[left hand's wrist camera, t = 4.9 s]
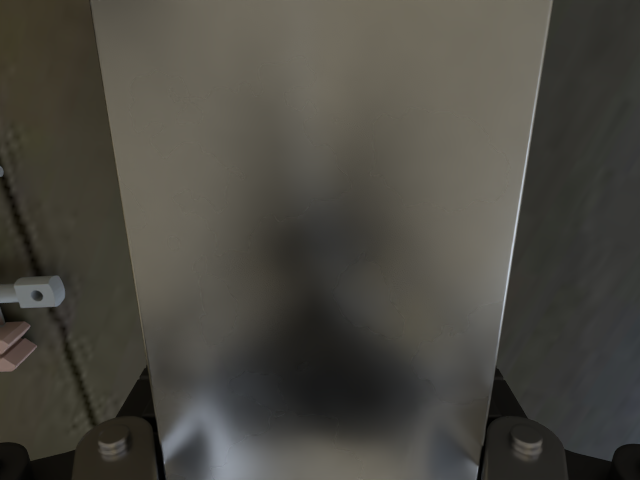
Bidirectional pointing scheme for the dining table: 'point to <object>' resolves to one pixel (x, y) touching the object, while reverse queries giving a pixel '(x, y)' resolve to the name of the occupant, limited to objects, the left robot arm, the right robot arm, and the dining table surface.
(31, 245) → the dining table surface
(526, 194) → the dining table surface
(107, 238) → the dining table surface
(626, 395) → the dining table surface
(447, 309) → the bar
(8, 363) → the clamp
